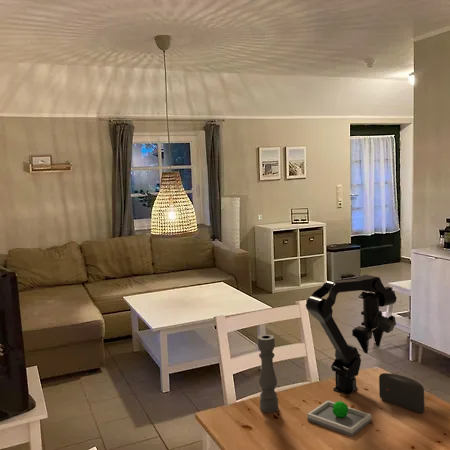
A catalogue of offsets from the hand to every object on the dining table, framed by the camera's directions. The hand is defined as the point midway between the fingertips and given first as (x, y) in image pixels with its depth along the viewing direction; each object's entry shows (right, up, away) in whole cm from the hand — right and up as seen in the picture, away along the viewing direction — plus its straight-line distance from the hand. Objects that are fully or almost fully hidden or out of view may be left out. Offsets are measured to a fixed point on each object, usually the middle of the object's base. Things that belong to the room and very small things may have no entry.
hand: (372, 349), depth 186 cm
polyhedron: (-18, -15, -27) cm, 35 cm away
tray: (-19, -16, -27) cm, 37 cm away
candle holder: (-40, -16, -16) cm, 46 cm away
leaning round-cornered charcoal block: (+4, -14, -20) cm, 25 cm away
